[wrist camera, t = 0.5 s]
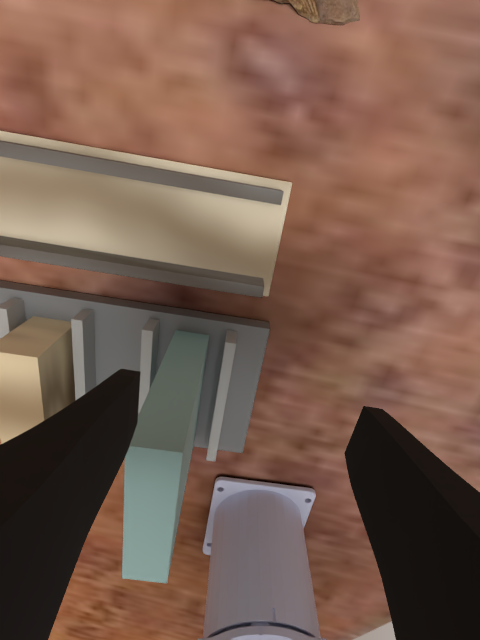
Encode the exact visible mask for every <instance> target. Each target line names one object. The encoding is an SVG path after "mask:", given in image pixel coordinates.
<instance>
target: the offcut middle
mask: <svg viewBox="0 0 480 640" xmlns="http://www.w3.org/2000/svg"><path fill="white" fill-rule="evenodd" d="M74 401H76V399H75V381H74V363H73V346H72V328H71V322H69V321H63V320H56V319H49V318H43V317H36V316H33V317H31V318H30V319H28V320H27V321H25V322H24V323H23V324H21V325H20V326H18V327H17V328H15V329H14V330H12V331H11V332H9V333H8V334H7V335H5V336H4V337H2V338H1V339H0V439H1V444H3V443H5V442H7V441H8V440H10V439H12V438H14V437H16V436H18V435H20V434H22V433H24V432H25V431H27V430H29V429H31V428H33V427H34V426H36V425H38V424H40V423H41V422H43V421H44V420H46V419H48V418H49V417H51V416H52V415H54V414H56V413H57V412H59V411H61V410H62V409H64V408H65V407H67V406H68V405H70V404H71V403H73V402H74Z"/></svg>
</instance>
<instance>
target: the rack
mask: <svg viewBox="0 0 480 640" xmlns="http://www.w3.org/2000/svg"><path fill="white" fill-rule="evenodd" d="M33 316H36V317H43V318H49V319H56V320H63V321H69V322H71V328H72V346H73V363H74V381H75V399H76V400H77V399H78V398H80V397H81V396H83V395H84V394H86V393H87V392H89V391H90V390H91V389H93V388H94V387H96V386H97V385H98V384H100V383H101V382H103V381H104V380H105V379H107V378H108V377H110V376H111V375H112V374H114V373H115V372H117V371H118V370H120V369H127V370H134V371H140V372H141V373H140V390H139V407H138V415H139V413H140V410H141V408H142V406H143V404H144V401H145V399H146V397H147V394H148V392H149V390H150V388H151V385H152V383H153V381H154V379H155V376H156V374H157V372H158V369H159V367H160V365H161V363H162V360H163V358H164V356H165V353H166V351H167V349H168V347H169V344H170V342H171V340H172V338H173V335H174V333H175V331H176V330H179V331H185V332H192V333H199V334H205V335H209V340H208V347H207V354H206V362H205V369H204V376H203V383H202V391H201V398H200V405H199V412H198V419H197V427H196V434H195V440H194V445H193V447H201V448H208V451H207V458H206V460H208V461H215V460H216V454H217V450H223V451H231V452H238V453H243V448H244V444H245V439H246V435H247V430H248V426H249V421H250V417H251V412H252V408H253V403H254V399H255V394H256V390H257V386H258V381H259V377H260V372H261V368H262V363H263V359H264V354H265V350H266V345H267V341H268V336H269V332H270V325H269V322H266V321H259V320H253V319H246V318H240V317H233V316H227V315H221V314H214V313H208V312H201V311H195V310H188V309H182V308H175V307H169V306H163V305H156V304H150V303H143V302H137V301H130V300H124V299H117V298H111V297H105V296H98V295H92V294H85V293H79V292H72V291H66V290H59V289H53V288H46V287H40V286H34V285H27V284H21V283H14V282H8V281H1V280H0V339H1V338H2V337H4V336H5V335H7V334H8V333H9V332H11V331H12V330H14V329H15V328H17V327H18V326H20V325H21V324H23V323H24V322H25V321H27V320H28V319H30V318H31V317H33Z"/></svg>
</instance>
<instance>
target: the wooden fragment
mask: <svg viewBox="0 0 480 640" xmlns="http://www.w3.org/2000/svg"><path fill="white" fill-rule="evenodd" d="M274 1H276V2H278V3H282V4H283V3H291V4H292V5H293V6H294V8H295V9H296V11H297V12H298V14H299V15H301V16H304V17H306V18H307V19H309V20H310V21H311V22H314V23H318V22H319V23H325V24H333V25H345V24H347V23H349V22H354V21H359V20H360V16H359V9H358V4H357V0H274Z"/></svg>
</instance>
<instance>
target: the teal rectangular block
mask: <svg viewBox="0 0 480 640" xmlns="http://www.w3.org/2000/svg"><path fill="white" fill-rule="evenodd" d="M208 340H209V335H205V334H199V333H192V332H185V331H179V330H176V331H175V333H174V335H173V338H172V340H171V342H170V344H169V347H168V349H167V351H166V353H165V356H164V358H163V360H162V363H161V365H160V367H159V369H158V372H157V374H156V376H155V379H154V381H153V383H152V385H151V388H150V390H149V392H148V394H147V397H146V399H145V401H144V404H143V406H142V408H141V410H140V413H139V415H138V423H137V426H136V429H135V432H134V435H133V437H132V440H131V443H130V446H129V449H128V451H127V454H126V456H125V476H124V520H123V564H122V578H124V579H133V580H142V581H151V582H160V583H167V581H168V576H169V570H170V565H171V560H172V555H173V549H174V544H175V539H176V534H177V528H178V523H179V518H180V513H181V508H182V502H183V497H184V492H185V487H186V481H187V476H188V471H189V466H190V461H191V455H192V450H193V445H194V440H195V434H196V427H197V419H198V412H199V405H200V398H201V391H202V383H203V376H204V369H205V362H206V354H207V347H208Z"/></svg>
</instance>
